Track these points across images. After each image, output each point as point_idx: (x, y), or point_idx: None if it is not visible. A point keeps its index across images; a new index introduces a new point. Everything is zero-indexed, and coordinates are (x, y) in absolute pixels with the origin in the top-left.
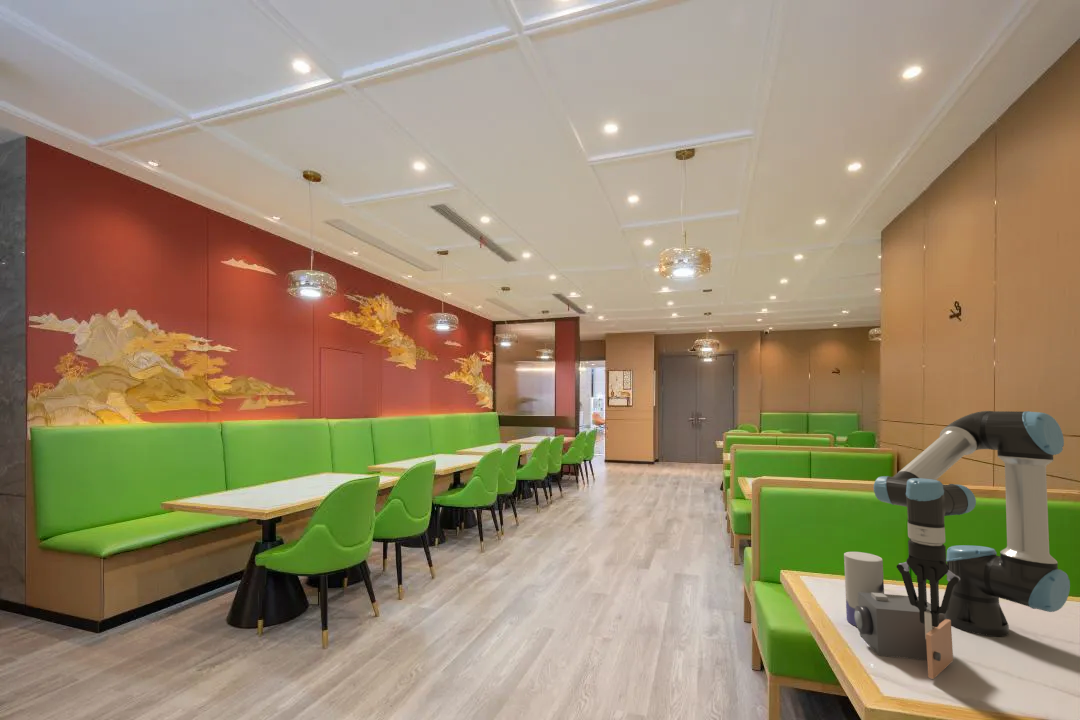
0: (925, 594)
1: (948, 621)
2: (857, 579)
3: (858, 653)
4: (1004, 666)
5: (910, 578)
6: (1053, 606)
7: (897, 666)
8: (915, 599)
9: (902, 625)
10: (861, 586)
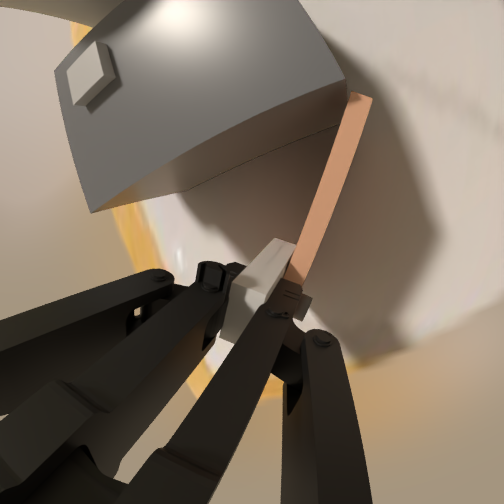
0: (175, 368)
1: (361, 129)
2: (43, 11)
3: (151, 208)
4: (474, 73)
5: (28, 360)
6: None
7: (226, 232)
8: (151, 302)
9: (193, 166)
10: (67, 11)
